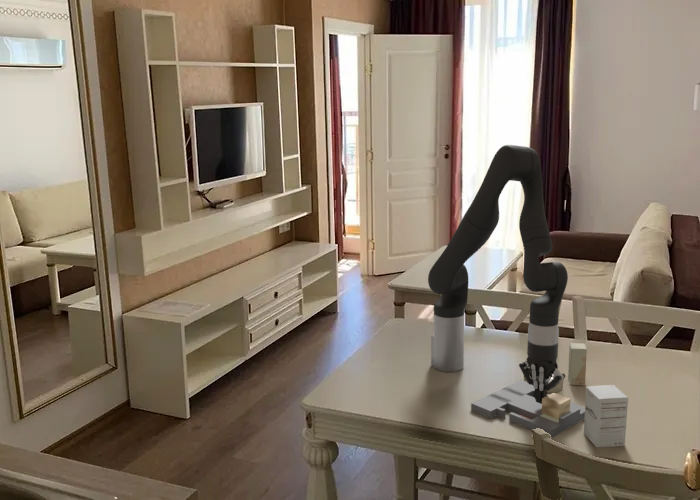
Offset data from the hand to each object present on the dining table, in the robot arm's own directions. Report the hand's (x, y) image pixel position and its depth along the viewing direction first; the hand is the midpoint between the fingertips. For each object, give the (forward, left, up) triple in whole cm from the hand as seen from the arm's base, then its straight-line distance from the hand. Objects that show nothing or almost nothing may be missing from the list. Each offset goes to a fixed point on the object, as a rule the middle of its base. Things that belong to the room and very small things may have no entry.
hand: (540, 401), depth 180 cm
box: (-5, +25, -4) cm, 26 cm away
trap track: (-2, 0, -4) cm, 4 cm away
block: (+5, 0, -2) cm, 5 cm away
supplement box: (+18, 0, -4) cm, 18 cm away
